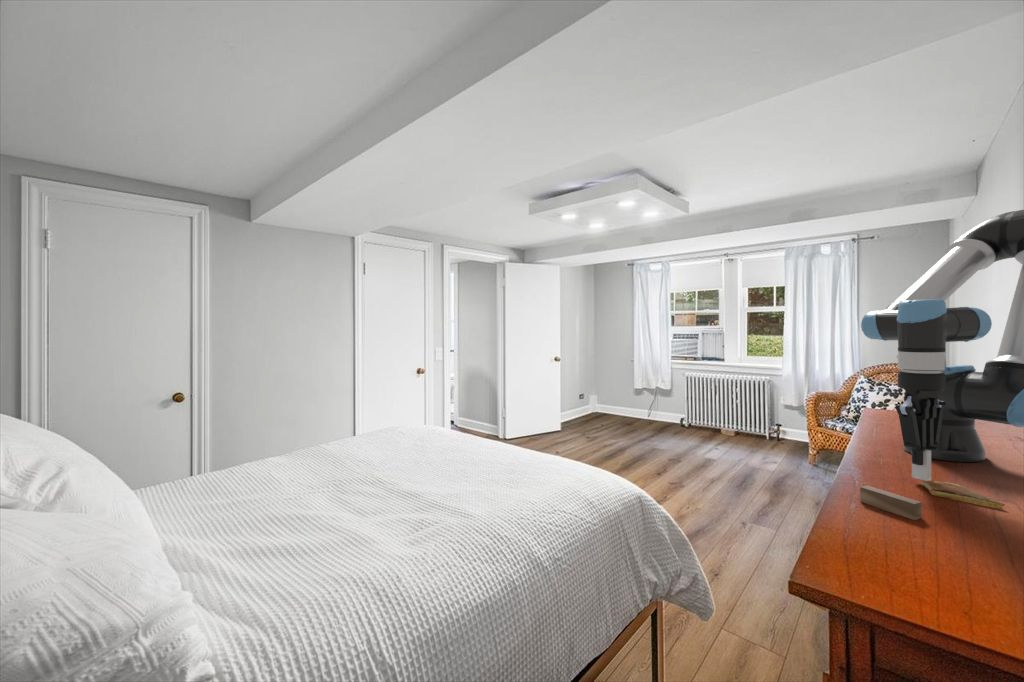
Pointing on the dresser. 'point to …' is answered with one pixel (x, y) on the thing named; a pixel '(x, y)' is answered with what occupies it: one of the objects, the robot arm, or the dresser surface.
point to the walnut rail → (891, 502)
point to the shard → (960, 493)
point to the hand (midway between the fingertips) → (921, 478)
